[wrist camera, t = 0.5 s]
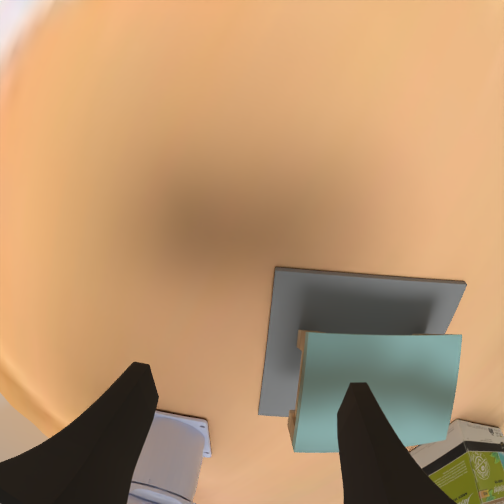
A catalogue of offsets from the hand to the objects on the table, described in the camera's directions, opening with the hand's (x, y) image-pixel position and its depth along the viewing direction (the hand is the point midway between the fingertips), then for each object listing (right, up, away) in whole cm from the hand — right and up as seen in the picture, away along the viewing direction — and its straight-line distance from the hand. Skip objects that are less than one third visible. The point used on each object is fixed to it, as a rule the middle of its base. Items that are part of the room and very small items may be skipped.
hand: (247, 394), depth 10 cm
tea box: (+29, -22, +20) cm, 41 cm away
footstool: (+8, -4, +9) cm, 13 cm away
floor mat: (+8, -4, +12) cm, 15 cm away
